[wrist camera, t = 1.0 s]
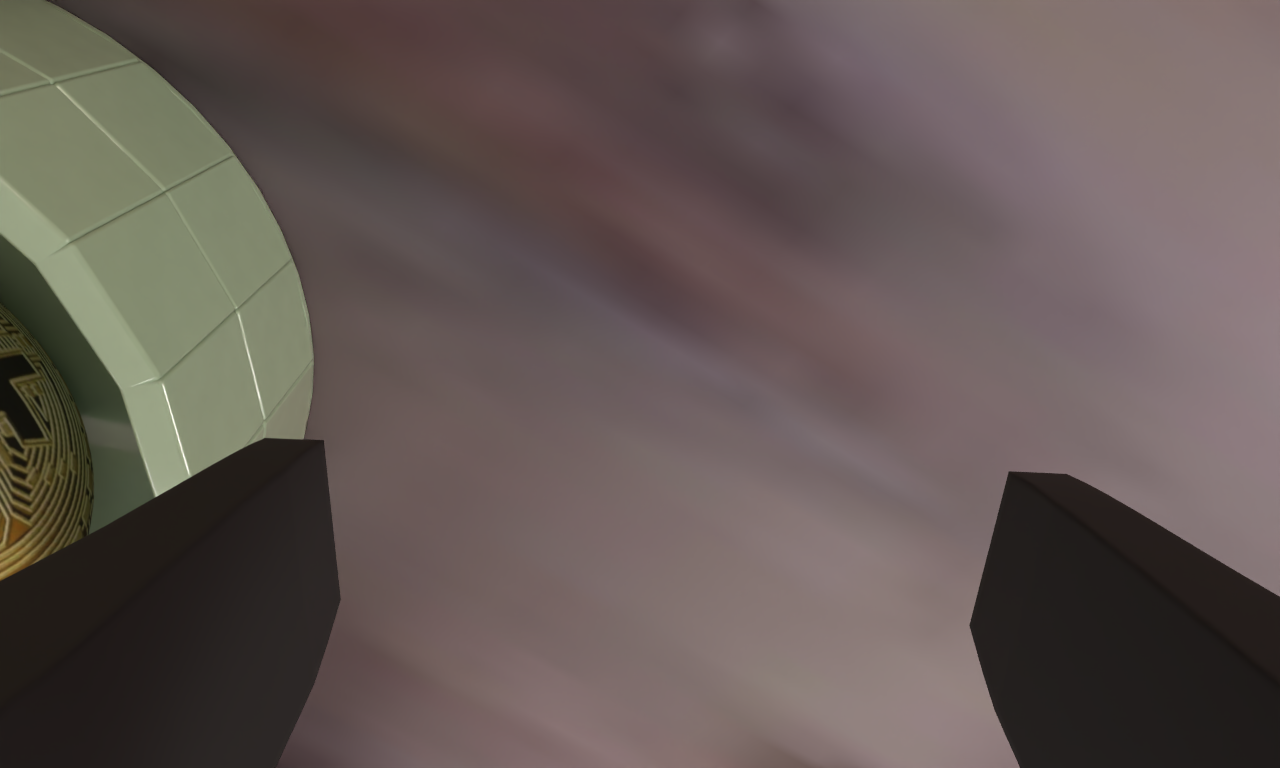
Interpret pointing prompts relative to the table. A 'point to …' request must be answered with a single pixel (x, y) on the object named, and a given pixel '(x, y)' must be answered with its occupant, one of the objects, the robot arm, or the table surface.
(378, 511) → the table surface
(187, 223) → the pot
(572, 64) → the table surface
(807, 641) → the table surface
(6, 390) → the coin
